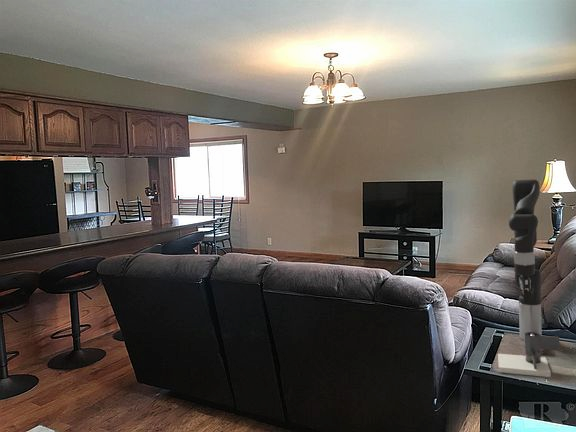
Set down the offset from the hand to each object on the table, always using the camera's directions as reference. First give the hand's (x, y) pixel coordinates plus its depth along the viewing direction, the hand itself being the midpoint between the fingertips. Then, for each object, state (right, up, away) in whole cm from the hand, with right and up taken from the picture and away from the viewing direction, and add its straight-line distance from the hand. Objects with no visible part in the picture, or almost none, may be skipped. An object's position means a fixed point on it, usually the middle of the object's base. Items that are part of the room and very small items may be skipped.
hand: (525, 300), depth 192 cm
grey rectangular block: (+4, -19, -6) cm, 20 cm away
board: (-4, -26, -5) cm, 27 cm away
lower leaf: (0, -24, -7) cm, 25 cm away
